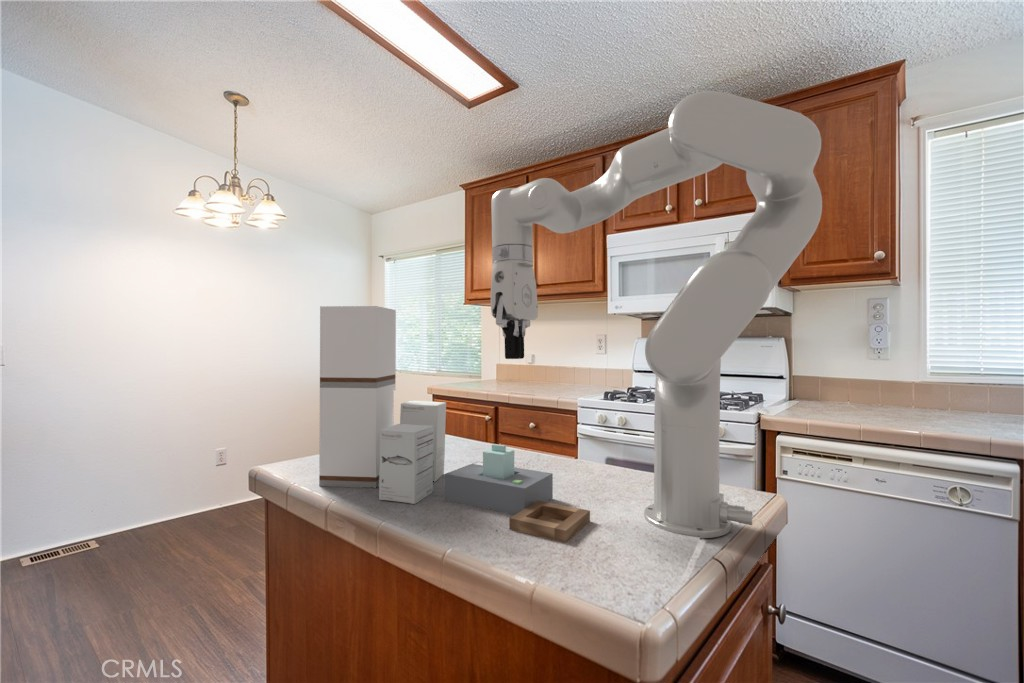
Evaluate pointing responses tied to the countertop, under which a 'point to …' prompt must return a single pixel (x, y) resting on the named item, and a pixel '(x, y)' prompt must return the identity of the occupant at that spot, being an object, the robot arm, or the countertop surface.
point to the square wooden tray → (550, 521)
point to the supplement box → (406, 463)
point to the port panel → (498, 488)
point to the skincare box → (429, 416)
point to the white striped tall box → (355, 392)
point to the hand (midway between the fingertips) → (514, 358)
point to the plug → (498, 462)
